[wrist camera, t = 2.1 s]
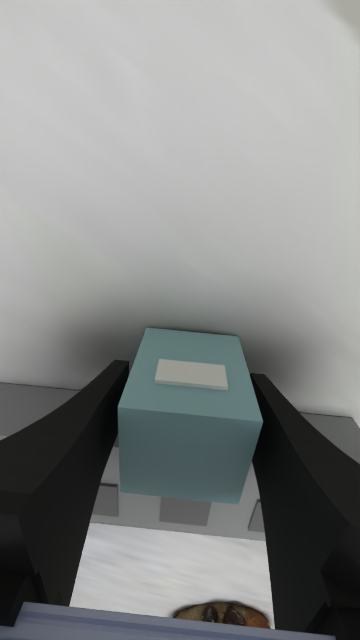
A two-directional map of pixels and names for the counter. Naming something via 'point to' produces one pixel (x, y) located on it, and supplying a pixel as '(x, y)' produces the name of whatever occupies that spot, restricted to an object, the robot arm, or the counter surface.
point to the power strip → (153, 511)
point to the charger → (188, 418)
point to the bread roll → (225, 615)
